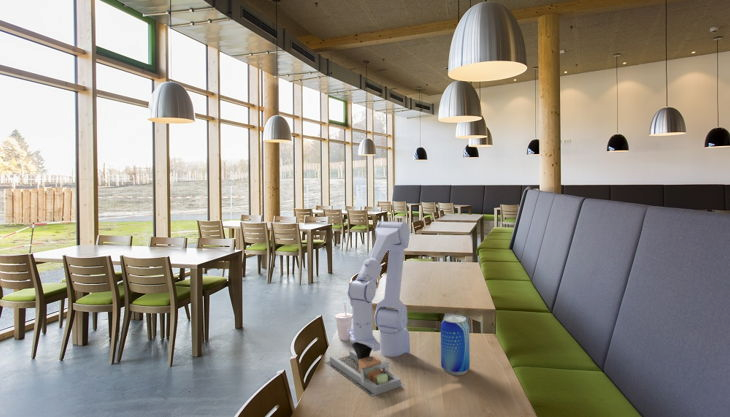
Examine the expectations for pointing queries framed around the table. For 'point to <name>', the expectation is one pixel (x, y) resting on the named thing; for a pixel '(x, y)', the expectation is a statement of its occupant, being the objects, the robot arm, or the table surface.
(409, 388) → the table surface
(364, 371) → the gate
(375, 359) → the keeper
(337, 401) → the table surface
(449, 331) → the beer can
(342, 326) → the smoothie
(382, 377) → the pale green cube
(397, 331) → the robot arm
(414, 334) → the table surface
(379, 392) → the gray divided tray
